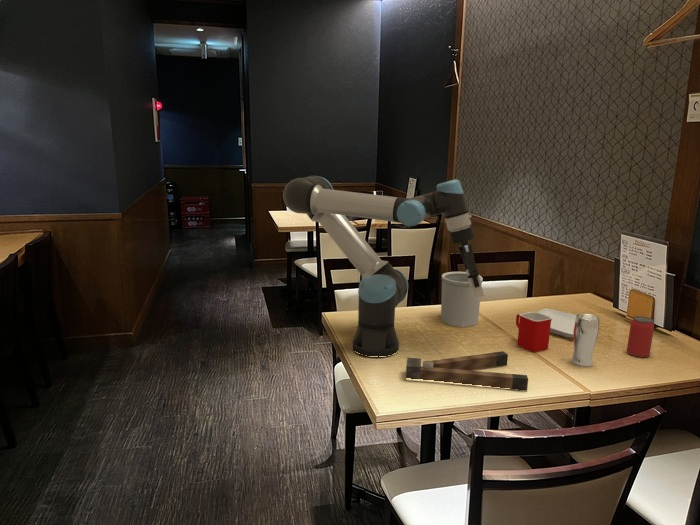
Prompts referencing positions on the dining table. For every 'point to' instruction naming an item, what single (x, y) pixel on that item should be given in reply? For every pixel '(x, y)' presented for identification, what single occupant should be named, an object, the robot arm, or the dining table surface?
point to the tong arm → (473, 361)
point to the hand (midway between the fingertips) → (477, 292)
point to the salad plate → (560, 322)
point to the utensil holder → (459, 300)
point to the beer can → (640, 336)
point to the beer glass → (585, 338)
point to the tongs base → (464, 375)
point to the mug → (533, 331)
